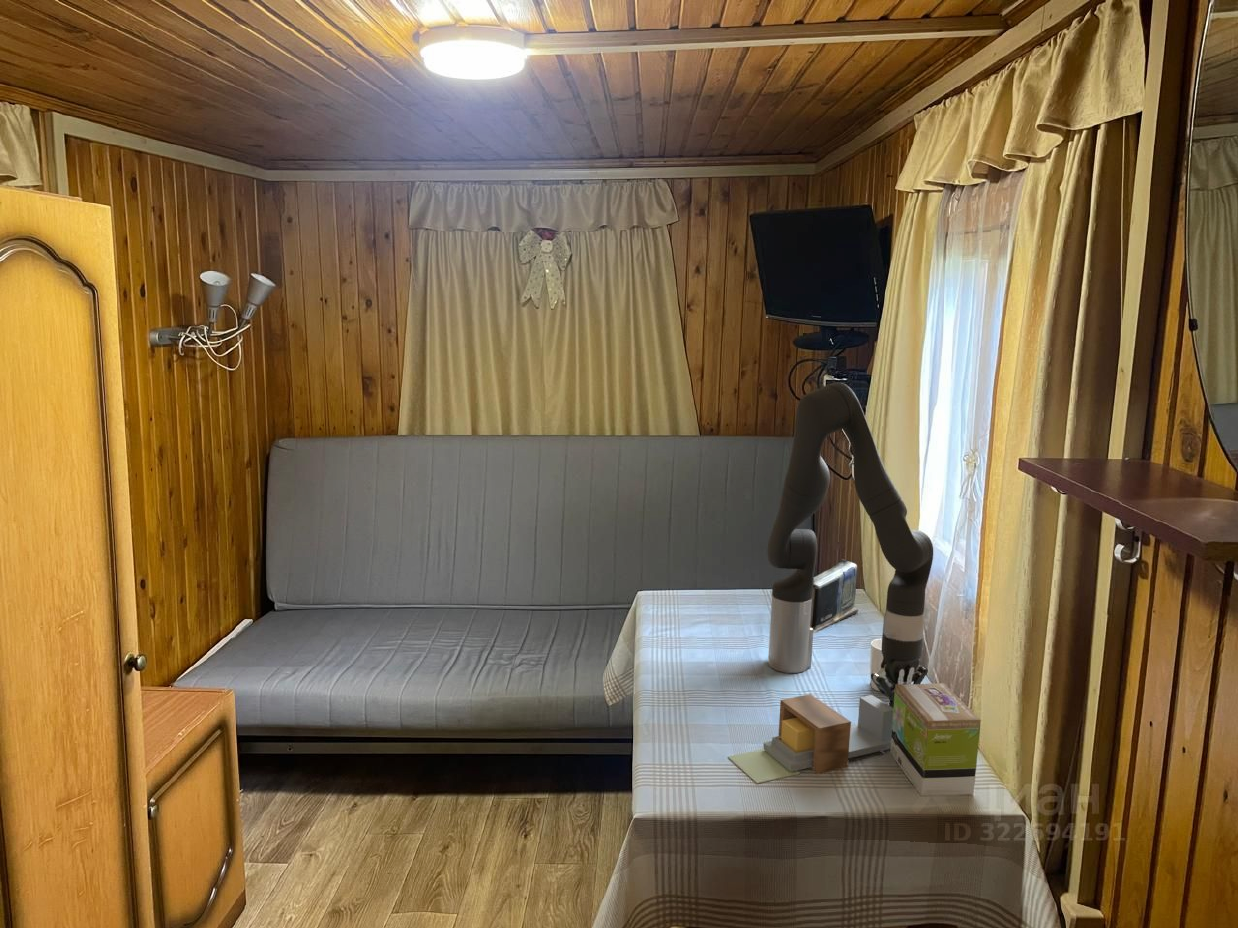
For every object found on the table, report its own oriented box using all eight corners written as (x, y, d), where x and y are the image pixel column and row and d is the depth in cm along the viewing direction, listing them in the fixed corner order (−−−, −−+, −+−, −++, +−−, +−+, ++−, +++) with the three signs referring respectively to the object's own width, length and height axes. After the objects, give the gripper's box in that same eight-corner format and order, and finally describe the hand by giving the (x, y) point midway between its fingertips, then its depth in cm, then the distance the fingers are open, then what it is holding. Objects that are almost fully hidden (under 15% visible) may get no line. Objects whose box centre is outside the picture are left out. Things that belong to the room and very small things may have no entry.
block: (802, 740, 170) (804, 716, 169) (818, 752, 166) (820, 727, 165) (780, 744, 168) (782, 720, 167) (796, 757, 164) (797, 732, 163)
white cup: (906, 683, 201) (909, 642, 199) (901, 697, 194) (905, 654, 192) (870, 677, 204) (874, 636, 203) (864, 690, 197) (868, 647, 196)
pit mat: (850, 730, 178) (850, 729, 178) (883, 754, 169) (883, 753, 169) (817, 737, 175) (817, 736, 175) (850, 761, 166) (850, 760, 166)
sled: (866, 726, 179) (868, 692, 178) (896, 747, 171) (899, 711, 170) (763, 748, 169) (765, 713, 168) (790, 771, 161) (793, 734, 160)
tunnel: (807, 736, 176) (810, 694, 174) (847, 766, 164) (851, 721, 163) (778, 742, 173) (780, 699, 171) (816, 773, 162) (819, 728, 160)
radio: (811, 634, 230) (815, 579, 228) (785, 624, 237) (788, 571, 234) (864, 615, 245) (868, 564, 242) (838, 607, 252) (842, 556, 249)
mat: (768, 748, 170) (768, 747, 170) (799, 773, 161) (799, 772, 161) (728, 757, 167) (728, 756, 167) (757, 783, 158) (757, 782, 158)
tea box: (887, 754, 169) (893, 681, 167) (938, 753, 170) (945, 681, 168) (920, 797, 155) (927, 718, 152) (975, 796, 156) (983, 717, 153)
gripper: (915, 621, 179) (908, 701, 182) (863, 630, 173) (856, 712, 176) (942, 634, 172) (935, 717, 175) (889, 643, 167) (882, 729, 170)
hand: (895, 714), depth 176 cm, fingers closed
